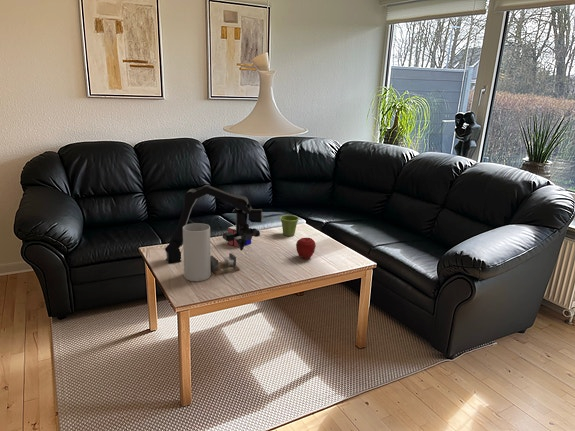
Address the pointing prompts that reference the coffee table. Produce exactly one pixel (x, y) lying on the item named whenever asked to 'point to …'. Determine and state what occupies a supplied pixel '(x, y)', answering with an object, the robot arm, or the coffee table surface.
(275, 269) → the coffee table surface
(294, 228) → the plant pot
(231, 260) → the gauge carriage
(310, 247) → the apple
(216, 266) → the gauge stand
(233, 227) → the puzzle cube
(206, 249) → the cylinder vase
